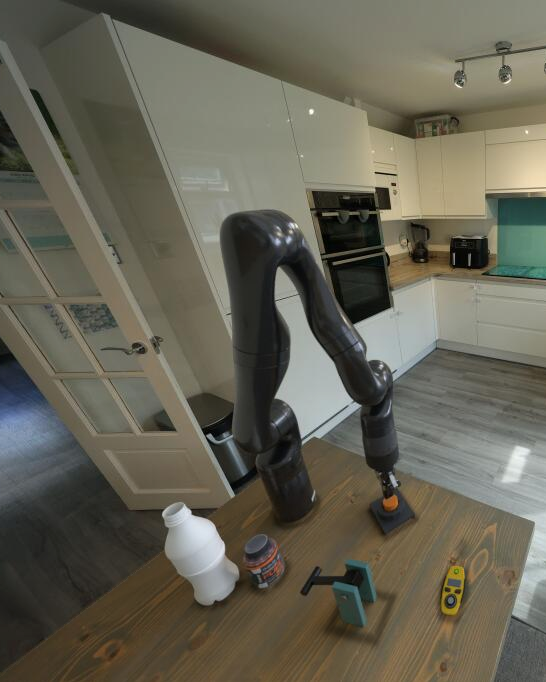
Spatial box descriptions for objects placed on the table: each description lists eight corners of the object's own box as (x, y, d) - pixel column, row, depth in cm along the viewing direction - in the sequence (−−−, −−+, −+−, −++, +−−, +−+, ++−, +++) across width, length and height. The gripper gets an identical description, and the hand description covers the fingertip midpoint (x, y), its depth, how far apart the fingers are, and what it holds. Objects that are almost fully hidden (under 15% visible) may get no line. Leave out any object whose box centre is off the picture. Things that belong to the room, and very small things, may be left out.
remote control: (436, 611, 61) (453, 536, 74) (436, 616, 61) (453, 541, 75) (460, 616, 60) (472, 539, 73) (460, 621, 61) (472, 544, 74)
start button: (381, 504, 80) (380, 499, 79) (394, 496, 82) (393, 491, 81) (387, 514, 77) (386, 509, 77) (400, 505, 79) (399, 501, 79)
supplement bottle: (271, 595, 65) (255, 562, 60) (247, 588, 66) (229, 555, 61) (292, 565, 70) (279, 532, 65) (270, 559, 71) (255, 526, 66)
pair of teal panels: (328, 628, 60) (313, 590, 54) (348, 587, 66) (337, 550, 60) (376, 641, 58) (366, 603, 53) (392, 598, 64) (385, 560, 59)
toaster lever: (303, 597, 59) (297, 589, 58) (319, 572, 63) (313, 564, 62) (354, 598, 55) (348, 590, 54) (367, 571, 59) (361, 563, 58)
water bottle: (195, 618, 61) (137, 536, 50) (204, 582, 67) (154, 501, 56) (239, 598, 64) (193, 517, 53) (245, 565, 70) (204, 486, 59)
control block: (370, 509, 82) (368, 499, 81) (398, 493, 87) (396, 483, 85) (386, 538, 75) (384, 528, 74) (415, 519, 80) (414, 508, 78)
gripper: (354, 434, 74) (364, 486, 81) (376, 469, 64) (385, 524, 72) (384, 421, 78) (391, 472, 85) (409, 452, 69) (414, 506, 76)
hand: (388, 495), depth 78 cm, fingers closed
